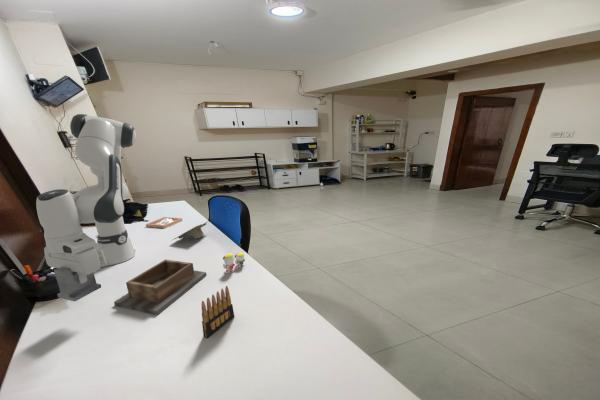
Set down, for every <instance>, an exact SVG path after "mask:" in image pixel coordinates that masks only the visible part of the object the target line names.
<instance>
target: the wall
mask: <svg viewBox="0 0 600 400" xmlns="http://www.w3.org/2000/svg"><path fill="white" fill-rule="evenodd" d="M207 223H208V221H207V222H204V223H202V224H198V225H196V226H194V227H192V228H191V229H189V230H187V231H185V232H184V233H182V234H180V235H178V236H177V237H175V238H173V239H172V240H171V241H173V240H176V239H179V240H181V239H183V238H186V237H187V236H189V235H190V236H191V237H192V238H194V239H195V240H197V239H200V238H201V237H203V236H204V235H205V234H204V232H203V230H202V228H203V227H204V226H206V225H207Z"/></svg>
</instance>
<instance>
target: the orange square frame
mask: <svg viewBox="0 0 600 400" xmlns="http://www.w3.org/2000/svg"><path fill="white" fill-rule="evenodd" d="M165 218H168V219H172V220H173V222H170V223H168V224H166V225H159V222H161V221H162V220H163V219H165ZM181 222H183V218H182V217H173V216H172V217H170V216H169V217H168V216H163V217H161V218H158V219H156V220H152V221H150V222H148V223H146V224H145V227H146V228H155V229H167V228H170V227H171V226H174V225H175V224H178V223H181Z"/></svg>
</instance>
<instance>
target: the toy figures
mask: <svg viewBox="0 0 600 400" xmlns="http://www.w3.org/2000/svg"><path fill="white" fill-rule="evenodd" d="M234 258H235V259H234ZM222 259H223V262H224V263H223V264H222V266H223V268H224V269H225V270H223V273H224V274H229V273H230V272H232V271H233V270H234V267H235V268H240V267H241V266H243V265H244V262H245V261H246V259H245V255H244V252H238V253H236V254H235V255H234V254H233V253H226V254H225V255H224V256H222ZM234 260H235V261H234Z"/></svg>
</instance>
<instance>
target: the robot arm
mask: <svg viewBox="0 0 600 400" xmlns="http://www.w3.org/2000/svg"><path fill="white" fill-rule="evenodd" d="M69 128H70V132H71V134H72V136H73V137H74V138H75V139H77V140H76V143H75V147H74V154H75V156H76V158H77V159H78V160H79V161H80V162H81V163H82V164H84V165H85V166H87V167H89V169H90V172H91V173H92V175H95V176H96V177H97V178H96V179H97V184H94V185H93V184H92V185H89V186H86V187H84V188H82V189H80V190H78V191H76V192H75V193H71V192H70V190H68V189H65V188H64V189H62V188H60V189H59V188H58V189H53V190H49V191H45V192H42V193H41V194H39V195H38V196H37V197H36V203H35V205H36V213H37V217H38V220H39V224H40V225H41V227H42V228H43V231H44V233H43V236H44V237H43V238H44V241H45V247H44V249H43V251H44V257H45V262H46V264H47V266H48V267H50V268H55V269H58V268H60V267H66V268H71V271H73V272H77V274H78V275H79V278H77V280H78V283H82V284H83V283H85V282H86V281H87V277H86V276H87V275H89V274H91V273H93V272H94V273H95V272H97V271H99V270H100V268H104V267H107V266H113V265H118V264H121V263H124V262H126V261H129V260H131V259H133V257H135V255H136V254H135V253H136V252H137V251H136V248H134V246H133V244H132V240H131V239H130V237H129V233H128V231H127V229H126V227H125V222H124V217H123V215H124V214H125V202H124V199H126V198H127V197H128V195H129V188H128V187H127V185H126V183H125V182H124V183H123V173H122V172H123V171H122V170H123V169H122V163H121V161H122V149H125V148H130V147H132V146H133V144H134V143H135V142H136V139H137V133H136V130H135V127H134V126H133V125H131V124H129V123H127V122H122V121H119V120H115V119H111V118H107V117H100V116H93V115H88V114H86V113H85V114H84V113H77V114H75V115H73V116H72V118H71V120H70V123H69ZM81 224H95V228H96V232H97V235H95V239H97V241H96V240H95V239H93V238H92V237H91V236H89V235H87V234H86V233H85V232H84V230H83V227H82V225H81Z"/></svg>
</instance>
